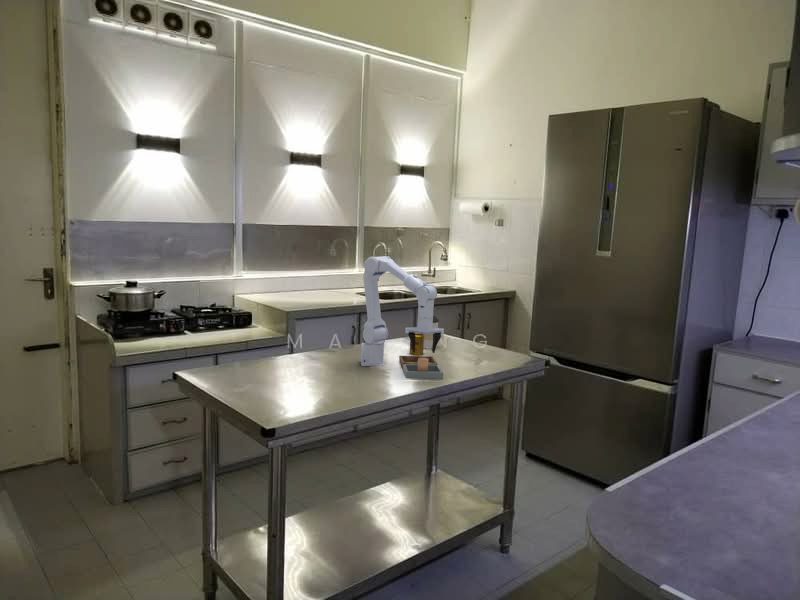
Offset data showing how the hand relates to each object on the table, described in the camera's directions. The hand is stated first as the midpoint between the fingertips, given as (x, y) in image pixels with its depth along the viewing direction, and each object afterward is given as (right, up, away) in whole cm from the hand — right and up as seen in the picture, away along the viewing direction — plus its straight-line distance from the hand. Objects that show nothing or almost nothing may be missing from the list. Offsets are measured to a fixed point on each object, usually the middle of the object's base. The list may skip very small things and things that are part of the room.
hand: (423, 352), depth 221 cm
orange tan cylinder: (0, -9, +1) cm, 9 cm away
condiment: (-1, -5, +34) cm, 34 cm away
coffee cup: (+4, -2, +49) cm, 50 cm away
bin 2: (0, -9, +1) cm, 9 cm away
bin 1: (-2, -7, +14) cm, 16 cm away
